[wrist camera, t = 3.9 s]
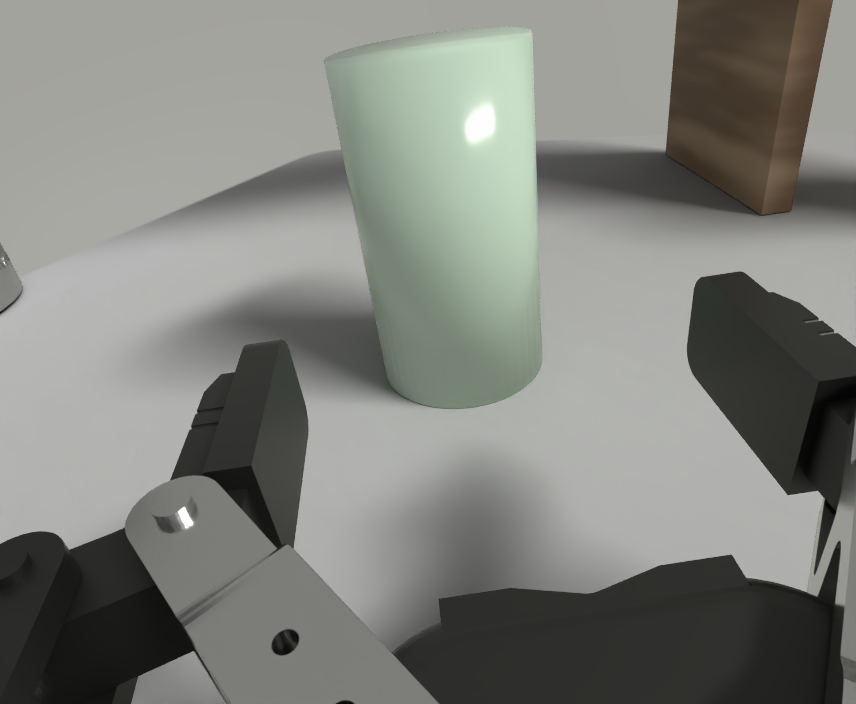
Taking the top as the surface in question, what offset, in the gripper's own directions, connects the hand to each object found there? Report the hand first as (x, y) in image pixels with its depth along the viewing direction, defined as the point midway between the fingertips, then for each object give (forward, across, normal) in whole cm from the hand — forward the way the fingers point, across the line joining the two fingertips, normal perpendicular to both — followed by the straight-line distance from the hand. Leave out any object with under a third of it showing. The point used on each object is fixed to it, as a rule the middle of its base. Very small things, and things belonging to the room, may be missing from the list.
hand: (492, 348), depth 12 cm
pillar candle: (+10, 0, +6) cm, 12 cm away
